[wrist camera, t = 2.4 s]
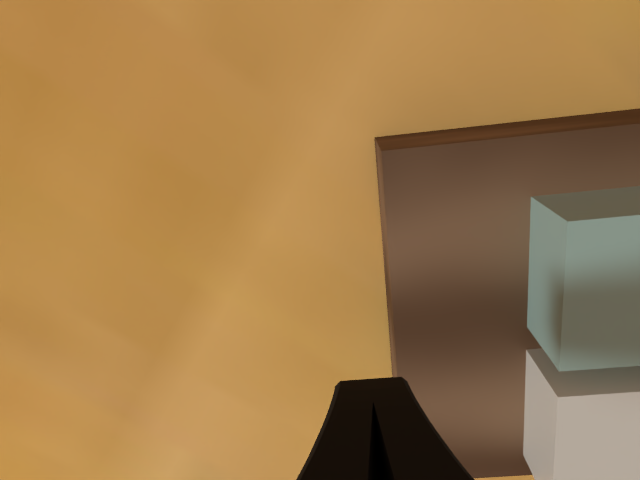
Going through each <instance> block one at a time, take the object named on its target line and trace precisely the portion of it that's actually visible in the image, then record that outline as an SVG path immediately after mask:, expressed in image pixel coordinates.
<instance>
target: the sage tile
mask: <svg viewBox="0 0 640 480" xmlns="http://www.w3.org/2000/svg"><path fill="white" fill-rule="evenodd" d="M527 328H528V329H529V330H530V332H531V333H532V335H533V336H534V337H535V339H536V340H537V341H538V343H539V344H540V346H541V347H542V348H543V350H544V351H545V353H546V354H547V355H548V357H549V358H550V360H551V361H552V362H553V364H554V365H555V366H556V368H557V369H558V371H559V372H560V371H574V370H588V369H602V368H616V367H630V366H640V186H634V187H624V188H614V189H603V190H593V191H583V192H573V193H562V194H552V195H542V196H532V197H531V210H530V243H529V276H528V309H527Z"/></svg>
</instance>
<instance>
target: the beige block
mask: <svg viewBox="0 0 640 480" xmlns="http://www.w3.org/2000/svg"><path fill="white" fill-rule="evenodd" d="M523 456H524V458H525V460H526V462H527V464H528V466H529V468H530V470H531V472H532V475H533V477H534V479H535V480H640V366H630V367H616V368H602V369H588V370H574V371H560V372H559V371H558V369H557V368H556V366H555V365H554V364H553V362H552V361H551V360H550V358H549V357H548V355H547V354H546V353H545V351H544V350H543V348H541V349H528V350H526V376H525V409H524V442H523Z"/></svg>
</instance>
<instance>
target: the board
mask: <svg viewBox="0 0 640 480" xmlns="http://www.w3.org/2000/svg"><path fill="white" fill-rule="evenodd" d="M375 148H376V162H377V175H378V188H379V202H380V215H381V228H382V241H383V255H384V268H385V281H386V295H387V308H388V321H389V335H390V348H391V361H392V375H393V377H403V378H404V379H405V380H406V381H408V384H409V386H410V388H411V390H412V392H413V394H414V396H415V398H416V399H417V401H418V403H419V404H420V406H421V408H422V409H423V411H424V412H425V414H426V416H427V417H428V419H429V420H430V422H431V423H432V425H433V426H434V428H435V429H436V431H437V432H438V433H439V435H440V436H441V437H442V439H443V440H444V442H445V443H446V444H447V446H448V447H449V448H450V450H451V451H452V452H453V454H454V455H455V456H456V458H457V459H458V460H459V461H460V463H461V464H462V465H463V467H464V468H465V469H466V470H467V472H468V473H469V474H470V475H471V476H472V478H485V477H502V476H520V475H532V472H531V470H530V468H529V466H528V464H527V462H526V460H525V458H524V456H523V442H524V409H525V376H526V350H528V349H541V348H542V347H541V346H540V344H539V343H538V341H537V340H536V339H535V337H534V336H533V335H532V333H531V332H530V330H529V329H528V328H527V309H528V276H529V243H530V210H531V197H532V196H542V195H552V194H562V193H573V192H583V191H593V190H603V189H614V188H624V187H634V186H640V109H633V110H623V111H614V112H605V113H596V114H587V115H577V116H568V117H559V118H550V119H541V120H531V121H522V122H513V123H504V124H495V125H485V126H476V127H467V128H458V129H449V130H439V131H430V132H421V133H412V134H402V135H393V136H384V137H375Z"/></svg>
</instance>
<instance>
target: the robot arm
mask: <svg viewBox="0 0 640 480" xmlns="http://www.w3.org/2000/svg"><path fill="white" fill-rule="evenodd" d="M296 480H474V479H473V478H472V476H471V475H470V474H469V473H468V472H467V470H466V469H465V468H464V467H463V465H462V464H461V463H460V461H459V460H458V459H457V458H456V456H455V455H454V454H453V452H452V451H451V450H450V448H449V447H448V446H447V444H446V443H445V442H444V440H443V439H442V437H441V436H440V435H439V433H438V432H437V431H436V429H435V428H434V426H433V425H432V423H431V422H430V420H429V419H428V417H427V416H426V414H425V412H424V411H423V409H422V408H421V406H420V404H419V403H418V401H417V399H416V398H415V396H414V394H413V392H412V390H411V388H410V386H409V384H408V381H406V380H405V379H404V378H403V377H391V378H377V379H363V380H349V381H340V382H339V383H338V384H337V385H336V386H335V390H334V395H333V398H332V401H331V404H330V407H329V410H328V413H327V415H326V418H325V421H324V423H323V426H322V428H321V430H320V433H319V435H318V437H317V439H316V441H315V444H314V446H313V448H312V450H311V452H310V454H309V457H308V459H307V461H306V463H305V465H304V467H303V468H302V470H301V472H300V474H299V476H298V478H297V479H296Z"/></svg>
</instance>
